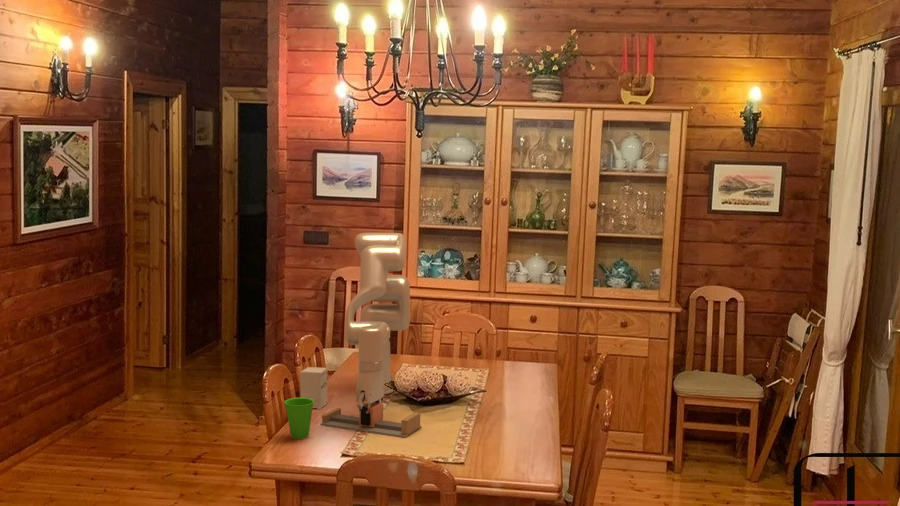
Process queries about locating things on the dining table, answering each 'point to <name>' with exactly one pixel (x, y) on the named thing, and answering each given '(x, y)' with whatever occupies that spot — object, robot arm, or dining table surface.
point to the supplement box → (314, 385)
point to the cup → (299, 416)
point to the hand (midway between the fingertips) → (371, 421)
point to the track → (381, 427)
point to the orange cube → (374, 414)
